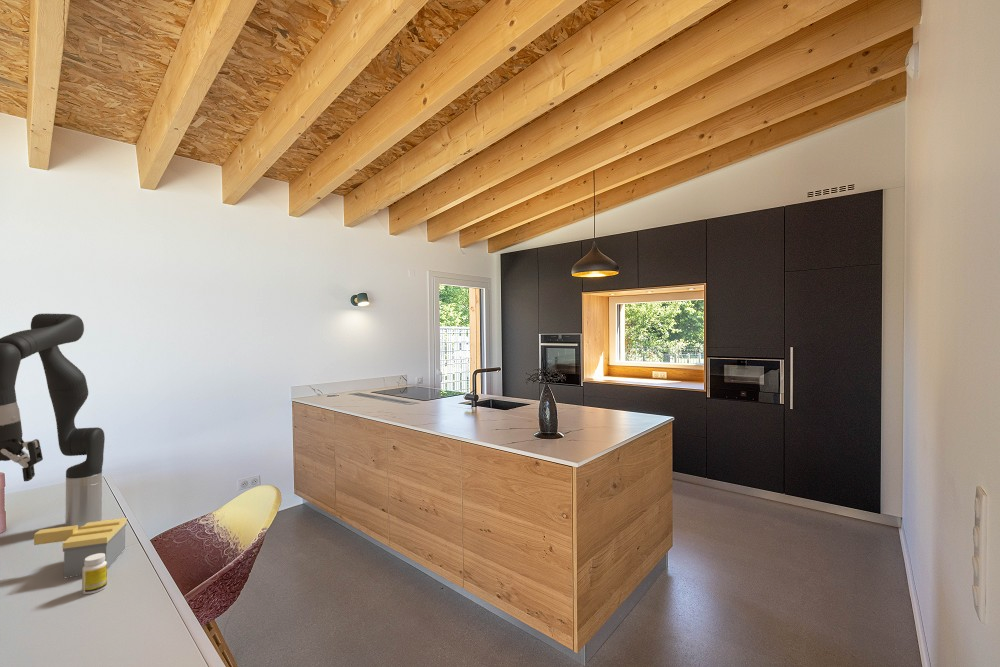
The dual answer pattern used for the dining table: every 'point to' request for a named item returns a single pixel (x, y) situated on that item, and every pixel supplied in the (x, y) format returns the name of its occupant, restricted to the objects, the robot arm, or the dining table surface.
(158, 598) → the dining table surface
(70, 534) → the lid
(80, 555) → the grey box
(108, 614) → the dining table surface
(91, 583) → the supplement bottle
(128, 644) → the dining table surface
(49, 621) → the dining table surface
